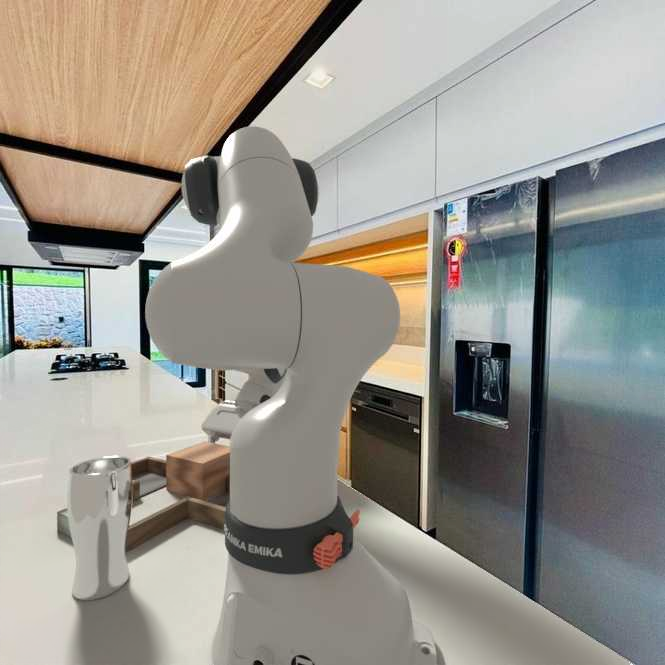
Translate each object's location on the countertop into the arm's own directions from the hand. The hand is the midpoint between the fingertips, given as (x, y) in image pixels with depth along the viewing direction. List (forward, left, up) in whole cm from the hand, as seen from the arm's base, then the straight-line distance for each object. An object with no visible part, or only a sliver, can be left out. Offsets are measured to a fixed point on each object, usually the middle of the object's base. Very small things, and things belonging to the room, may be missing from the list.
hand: (224, 456), depth 80 cm
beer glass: (-11, +33, -4) cm, 35 cm away
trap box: (0, +12, -4) cm, 13 cm away
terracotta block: (0, +6, -4) cm, 7 cm away
